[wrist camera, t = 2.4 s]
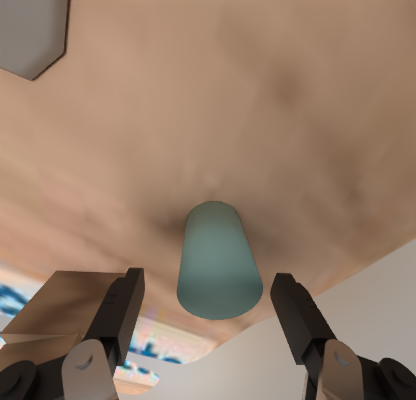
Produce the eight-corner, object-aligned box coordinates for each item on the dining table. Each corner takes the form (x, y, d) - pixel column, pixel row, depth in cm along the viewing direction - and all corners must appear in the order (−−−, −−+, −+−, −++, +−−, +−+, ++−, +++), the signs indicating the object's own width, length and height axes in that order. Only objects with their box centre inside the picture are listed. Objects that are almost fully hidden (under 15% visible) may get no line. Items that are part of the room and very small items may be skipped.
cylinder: (244, 203, 16) (271, 262, 10) (235, 247, 18) (253, 320, 12) (186, 199, 16) (177, 259, 10) (185, 245, 18) (176, 318, 12)
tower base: (127, 273, 19) (98, 335, 14) (132, 314, 22) (111, 379, 17) (57, 270, 19) (-1, 333, 14) (72, 313, 22) (30, 379, 17)
